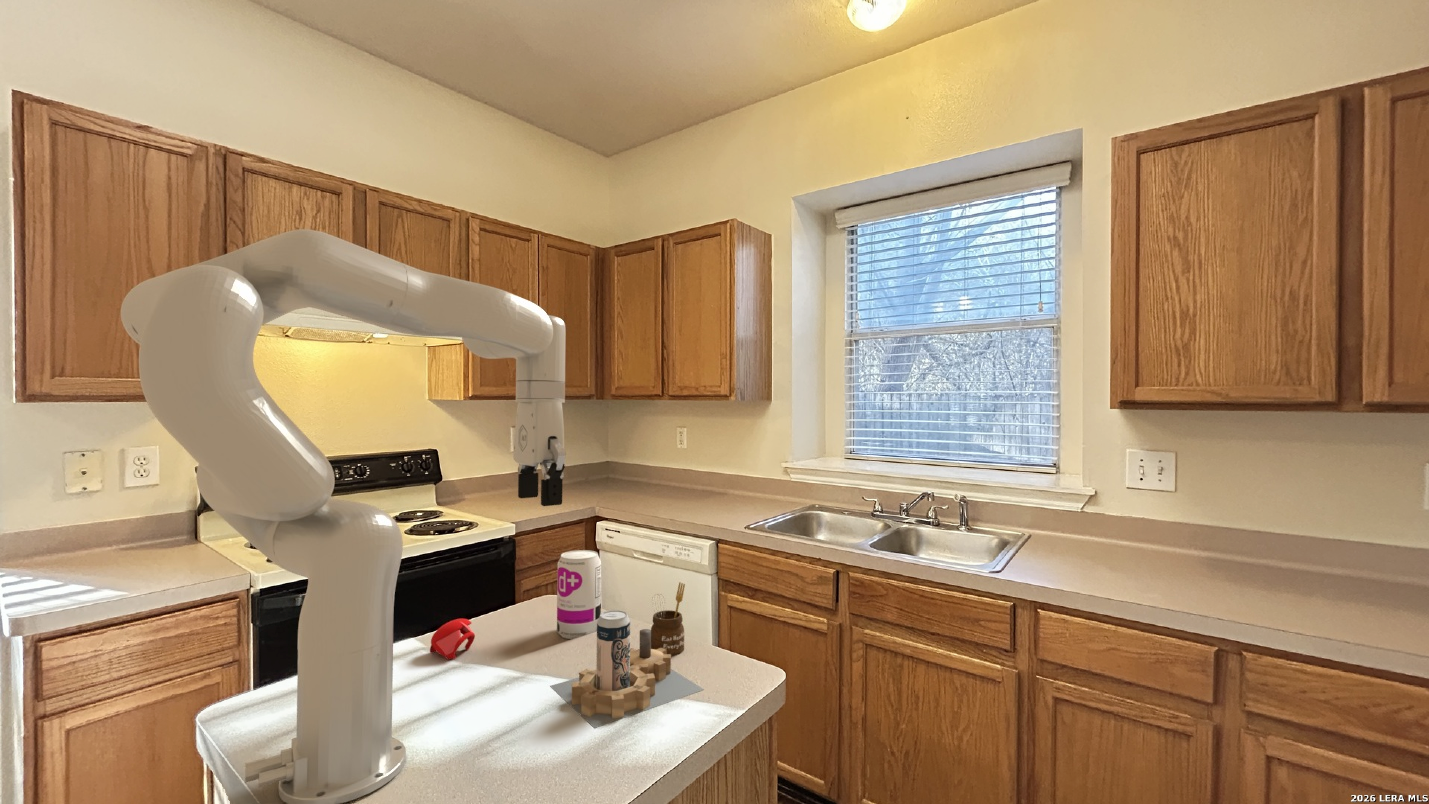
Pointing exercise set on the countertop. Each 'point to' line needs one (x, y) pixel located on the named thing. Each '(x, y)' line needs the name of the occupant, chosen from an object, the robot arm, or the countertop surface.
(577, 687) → the oak gear
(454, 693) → the countertop surface
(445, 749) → the countertop surface
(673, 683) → the gear board
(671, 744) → the countertop surface
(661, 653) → the small gear
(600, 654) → the beer can
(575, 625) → the supplement can
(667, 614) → the utensil holder
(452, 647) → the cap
